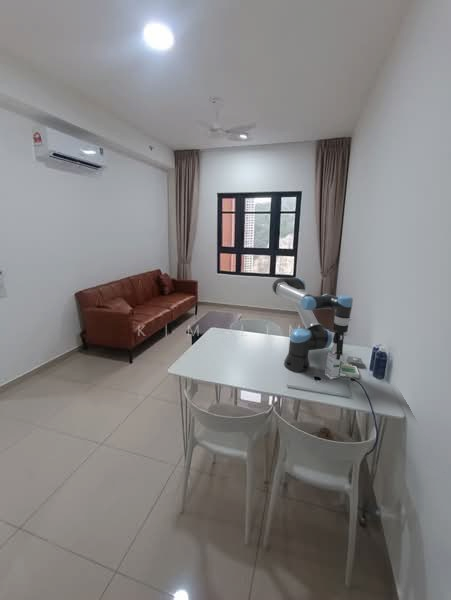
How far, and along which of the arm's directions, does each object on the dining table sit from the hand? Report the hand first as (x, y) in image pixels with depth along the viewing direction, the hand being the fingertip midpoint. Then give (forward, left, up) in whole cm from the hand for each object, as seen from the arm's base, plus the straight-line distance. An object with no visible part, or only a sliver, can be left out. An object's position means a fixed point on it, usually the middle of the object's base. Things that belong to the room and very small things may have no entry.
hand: (335, 358), depth 153 cm
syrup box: (0, 0, -12) cm, 12 cm away
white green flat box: (+10, +8, -12) cm, 17 cm away
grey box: (+16, +19, -11) cm, 27 cm away
